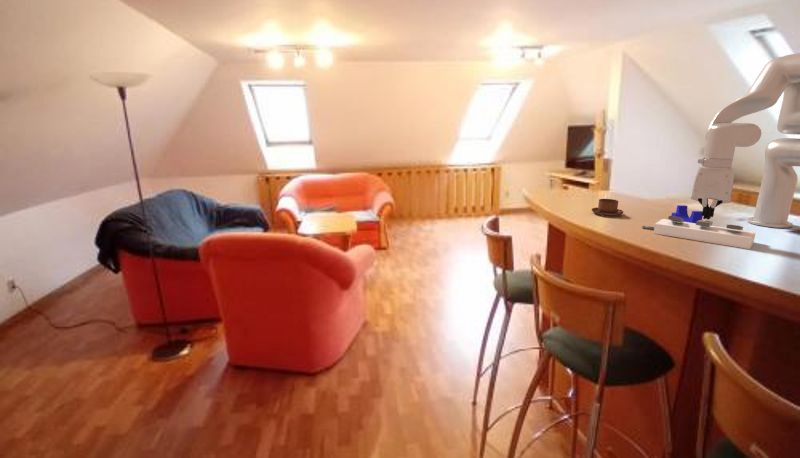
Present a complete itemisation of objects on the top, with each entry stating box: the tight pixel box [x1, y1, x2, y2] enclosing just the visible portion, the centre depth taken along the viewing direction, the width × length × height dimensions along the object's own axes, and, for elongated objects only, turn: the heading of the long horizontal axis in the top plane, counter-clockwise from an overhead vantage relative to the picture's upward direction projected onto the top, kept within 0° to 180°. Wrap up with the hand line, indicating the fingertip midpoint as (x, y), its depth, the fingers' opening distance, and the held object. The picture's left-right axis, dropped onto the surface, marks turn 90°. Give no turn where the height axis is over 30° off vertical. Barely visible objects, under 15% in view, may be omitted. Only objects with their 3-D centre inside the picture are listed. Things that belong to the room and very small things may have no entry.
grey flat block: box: [667, 215, 684, 223], centre depth 141 cm, size 6×4×1 cm, turn 136°
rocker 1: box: [696, 219, 713, 227], centre depth 135 cm, size 6×4×1 cm, turn 135°
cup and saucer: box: [591, 198, 624, 217], centre depth 170 cm, size 12×12×6 cm
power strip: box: [641, 218, 757, 250], centre depth 138 cm, size 10×31×4 cm, turn 45°
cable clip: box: [670, 204, 704, 223], centre depth 154 cm, size 12×4×6 cm, turn 172°
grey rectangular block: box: [725, 224, 744, 230], centre depth 130 cm, size 6×4×1 cm, turn 136°
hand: (706, 218), depth 136 cm, fingers closed
